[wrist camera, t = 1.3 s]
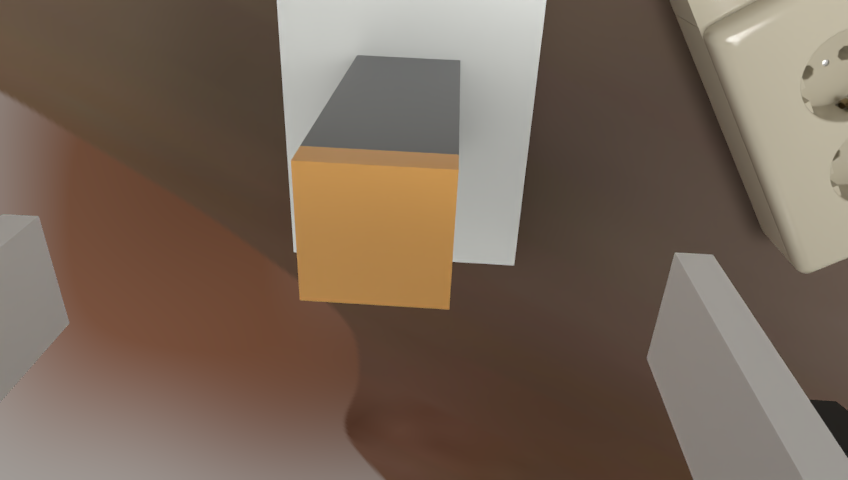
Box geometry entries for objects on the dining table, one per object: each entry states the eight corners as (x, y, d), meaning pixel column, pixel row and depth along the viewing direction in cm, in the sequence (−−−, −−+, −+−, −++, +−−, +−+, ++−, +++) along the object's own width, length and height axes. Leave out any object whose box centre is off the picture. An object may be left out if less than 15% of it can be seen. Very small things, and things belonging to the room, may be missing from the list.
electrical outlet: (890, -371, 16) (1009, 198, 23) (813, -325, 20) (936, 157, 27) (620, -194, 18) (803, 281, 25) (594, -180, 22) (761, 232, 29)
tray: (513, 259, 30) (514, 265, 29) (296, 247, 30) (293, 252, 30) (554, -82, 23) (556, -81, 22) (273, -94, 23) (270, -94, 23)
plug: (454, 157, 27) (449, 309, 17) (358, 152, 27) (299, 300, 17) (460, 60, 25) (458, 169, 15) (357, 54, 25) (290, 160, 15)
